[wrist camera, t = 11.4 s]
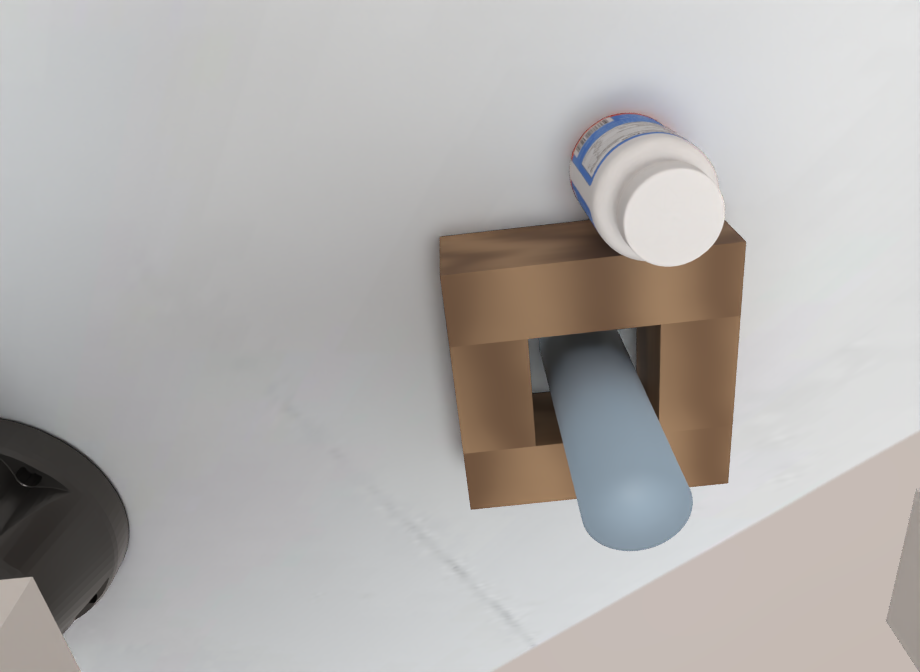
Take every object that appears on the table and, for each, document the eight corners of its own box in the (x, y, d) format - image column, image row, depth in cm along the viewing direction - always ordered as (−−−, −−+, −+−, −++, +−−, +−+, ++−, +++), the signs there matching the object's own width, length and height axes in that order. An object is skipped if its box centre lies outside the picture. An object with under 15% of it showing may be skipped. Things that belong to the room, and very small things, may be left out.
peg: (541, 379, 44) (583, 556, 31) (536, 310, 42) (579, 470, 29) (618, 370, 43) (690, 545, 31) (617, 301, 41) (694, 458, 29)
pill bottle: (670, 214, 40) (735, 284, 31) (566, 219, 39) (602, 291, 31) (678, 105, 37) (752, 148, 28) (568, 111, 37) (607, 155, 28)
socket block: (467, 453, 46) (470, 509, 42) (439, 236, 39) (439, 275, 35) (699, 429, 46) (727, 483, 41) (710, 206, 39) (745, 241, 35)
